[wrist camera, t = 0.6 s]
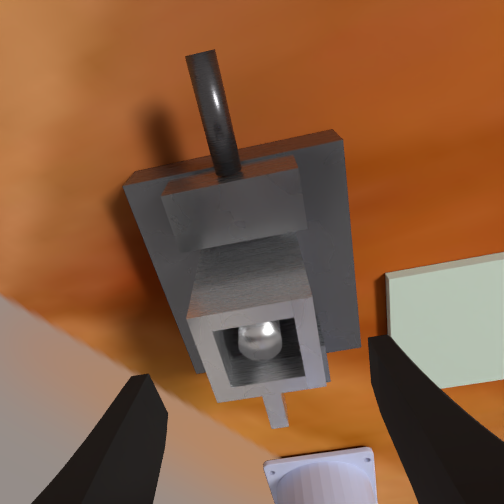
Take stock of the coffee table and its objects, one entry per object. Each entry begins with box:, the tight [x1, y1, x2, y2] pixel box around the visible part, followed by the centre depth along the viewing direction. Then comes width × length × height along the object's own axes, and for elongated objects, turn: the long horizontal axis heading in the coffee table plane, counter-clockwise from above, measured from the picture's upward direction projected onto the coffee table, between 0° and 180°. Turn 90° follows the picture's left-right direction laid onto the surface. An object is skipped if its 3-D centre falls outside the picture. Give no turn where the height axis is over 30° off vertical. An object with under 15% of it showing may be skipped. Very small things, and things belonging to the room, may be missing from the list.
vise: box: [123, 49, 361, 382], centre depth 16 cm, size 15×9×6 cm, turn 12°
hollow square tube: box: [186, 231, 327, 429], centre depth 16 cm, size 6×4×5 cm
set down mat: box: [385, 252, 504, 389], centre depth 21 cm, size 9×9×1 cm
